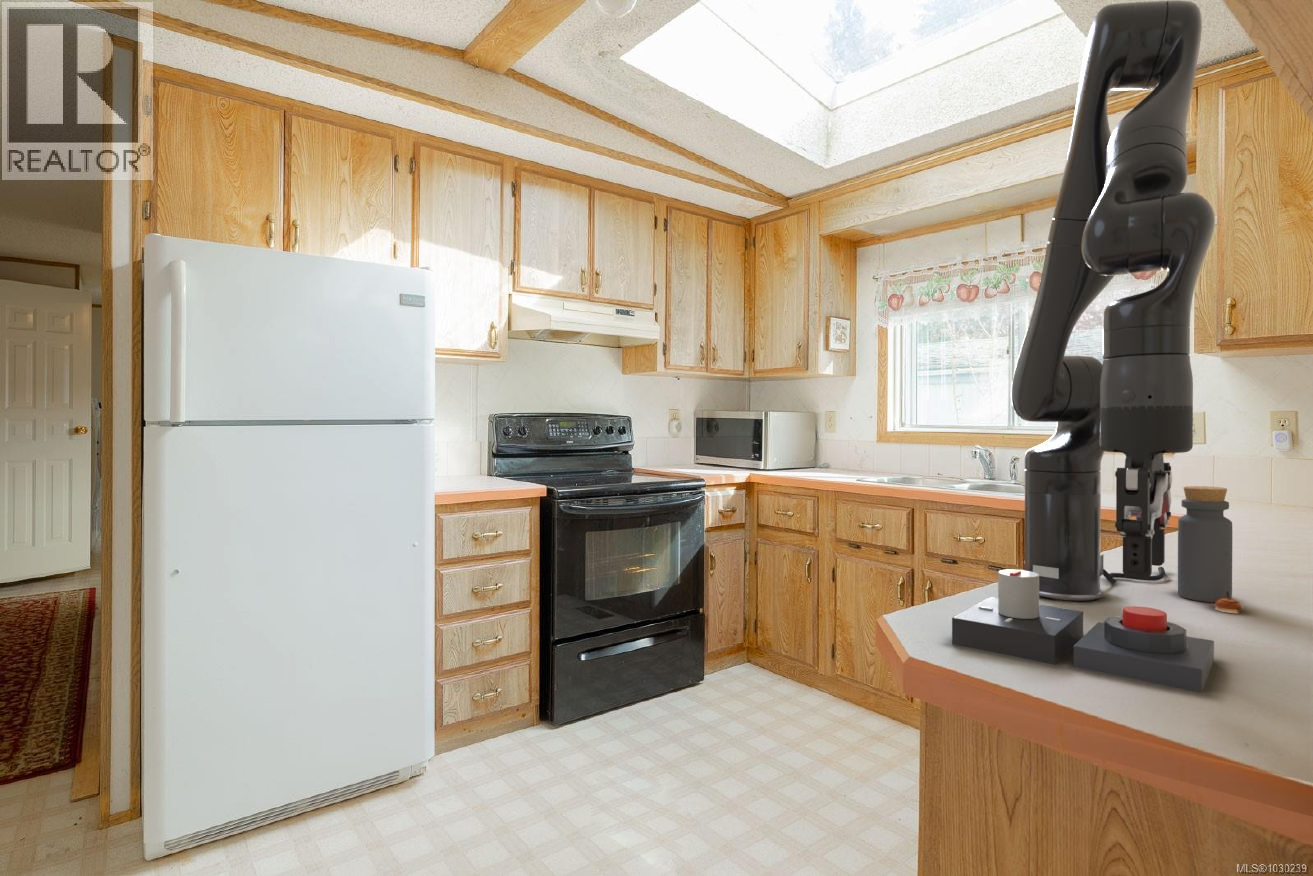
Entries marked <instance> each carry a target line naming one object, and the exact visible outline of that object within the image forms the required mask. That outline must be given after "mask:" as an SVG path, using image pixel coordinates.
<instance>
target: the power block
mask: <svg viewBox="0 0 1313 876" xmlns="http://www.w3.org/2000/svg"><path fill="white" fill-rule="evenodd" d="M1072 649H1073V653H1072V656H1073V659H1072V661H1073V666H1072V667H1073V668H1076V669H1081V670H1088V671H1092V672H1097V673H1102V674H1107V675H1110V676H1111V675H1112V676H1116V677H1121V678H1125V679H1131V680H1137V681H1141V682H1146V683H1152V684H1156V685H1161V686H1165V687H1169V688H1171V687H1172V688H1175V689H1176V688H1177V689H1180V690H1186V691H1189V692H1190V691H1192V692H1196V693H1202V692H1203V691H1204V687H1205V685H1206V683H1207V680H1208V678H1209V674H1210V672H1211V670H1212V667H1213V665H1214V662H1215V641H1214V640H1213V639H1207V638H1199V637H1194V636H1187V629H1186V628H1184V627H1182V626H1181V625H1179V624H1178V623H1177V624H1176V623H1174V622H1170V621H1167V631H1145V630H1139V629H1133V628H1130V627H1126V626H1123V615H1118V616H1110V617H1107V618H1106V619H1105V620H1104V622H1098V621H1097V623H1096V624H1095V625H1094V626H1093V627H1092V628H1091V629H1089V630H1088V632H1086V633H1085V634H1084V635H1083V637H1082V638H1081V639H1080V640H1079V641H1078V642H1077V643H1076V644H1075V645H1074V646H1073V648H1072Z"/></svg>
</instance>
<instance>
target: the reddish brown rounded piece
mask: <svg viewBox="0 0 1313 876" xmlns="http://www.w3.org/2000/svg"><path fill="white" fill-rule="evenodd" d="M1226 593H1227V598H1222V599H1220V600H1218V601H1216V602H1214V610H1216V611H1218V612H1222V613H1230V614H1241V611H1242V610H1243V607H1242V605H1241V604H1240V602H1239V601H1238V600H1236V599H1230V596H1229V593H1228V589H1226Z"/></svg>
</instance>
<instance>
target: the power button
mask: <svg viewBox="0 0 1313 876" xmlns="http://www.w3.org/2000/svg"><path fill="white" fill-rule="evenodd" d="M1122 616H1123V626H1126V627H1130V628H1133V629H1139V630H1145V631H1167V622H1168V613H1167V612H1166V611H1164V610H1161V609H1157V608H1153V607H1148V606H1136V605H1135V606H1134V605H1133V606H1130V605H1129V606H1124V607H1123V608H1122Z"/></svg>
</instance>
